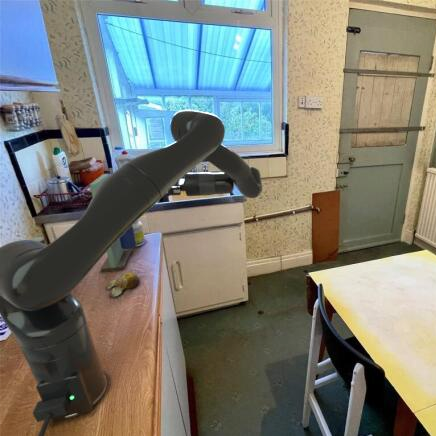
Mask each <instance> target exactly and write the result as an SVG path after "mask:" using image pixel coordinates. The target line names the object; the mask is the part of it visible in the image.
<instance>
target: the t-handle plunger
mask: <svg viewBox="0 0 436 436" xmlns="http://www.w3.org/2000/svg"><path fill="white" fill-rule="evenodd" d="M119 239H120V243H121V247H122V248H123V249H125V250H132V249H133V248H136V247H137V246H136V240H135V235H134V230H133V225H132V226H131V227H130V228H129V229H128V230H127V231H126V232H125V233H124V234H123V235H122V236H121V237H120V238H119ZM135 246H136V247H135Z"/></svg>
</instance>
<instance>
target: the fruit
mask: <svg viewBox="0 0 436 436" xmlns="http://www.w3.org/2000/svg"><path fill="white" fill-rule="evenodd" d="M139 284H140V279H139V276H138V275H137V274H136V273H133V272H124V273H123V274H121V276H120V277H118V279H113V280H111V281H110V282H109V283H108V285H107V289H108V290H110V289H112V290H111V293H110V296H111V297H118V296H120V295H121V294H122V292H123V290H125V289H130V290H131V289H135V288H136V287H137V286H138V285H139ZM114 286H116V287H114ZM112 287H113V288H112Z"/></svg>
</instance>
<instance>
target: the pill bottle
mask: <svg viewBox="0 0 436 436" xmlns="http://www.w3.org/2000/svg"><path fill="white" fill-rule="evenodd" d="M133 230H134V235H135V240H136V246H135V247H134V248H136V247H140V246H143V245H144V244H145V243H146V238H145V233H144V227H143V223H142V221H140V218H139V219H138V220H137V221H136V222H135V223H134V224H133Z"/></svg>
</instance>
